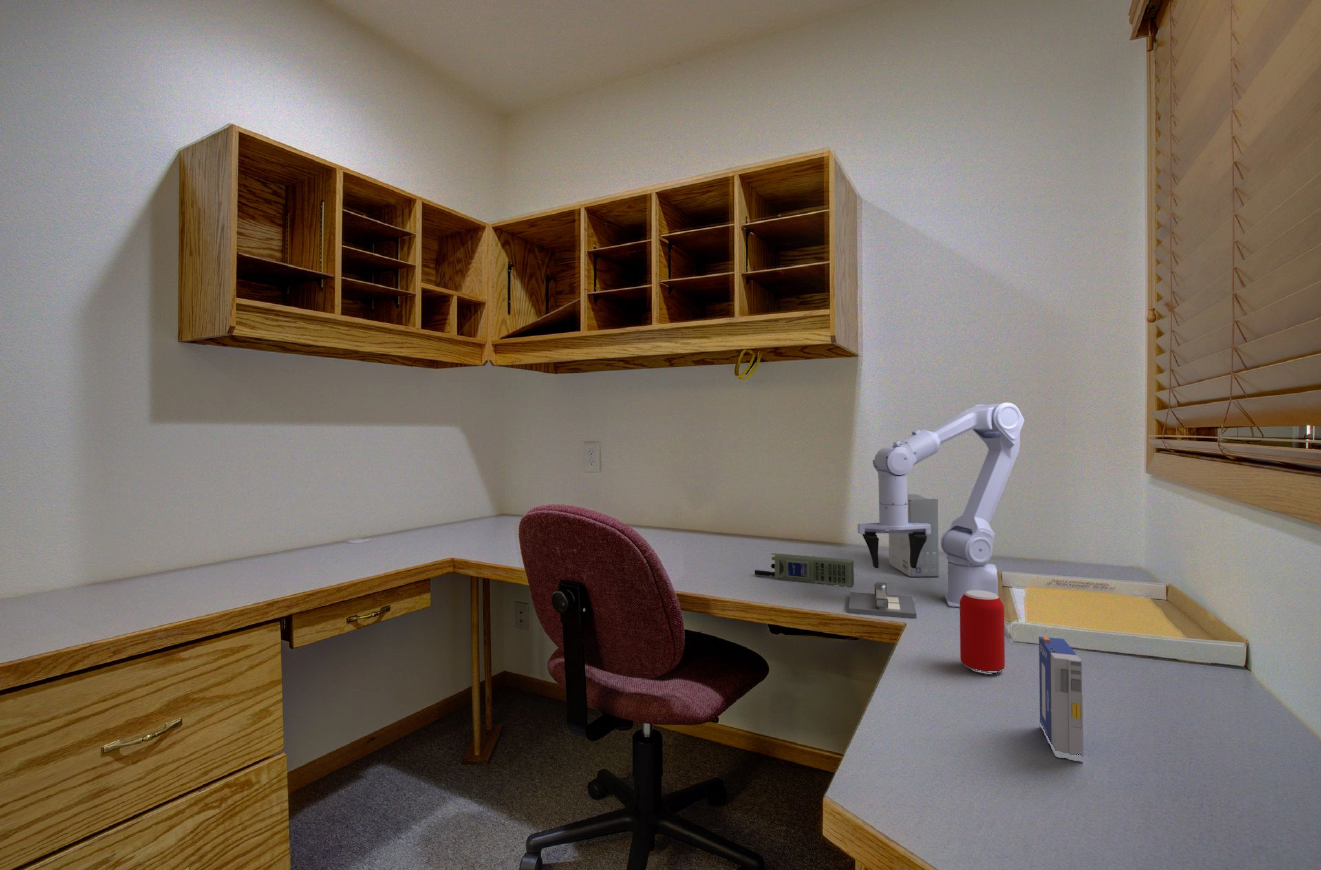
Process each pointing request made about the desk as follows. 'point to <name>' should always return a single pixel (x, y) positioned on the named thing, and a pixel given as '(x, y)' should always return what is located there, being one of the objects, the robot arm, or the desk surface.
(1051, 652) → the walkman
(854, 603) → the label board
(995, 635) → the beverage can
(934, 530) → the hard drive box
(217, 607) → the desk surface
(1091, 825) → the desk surface
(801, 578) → the handheld radio
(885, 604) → the bar
